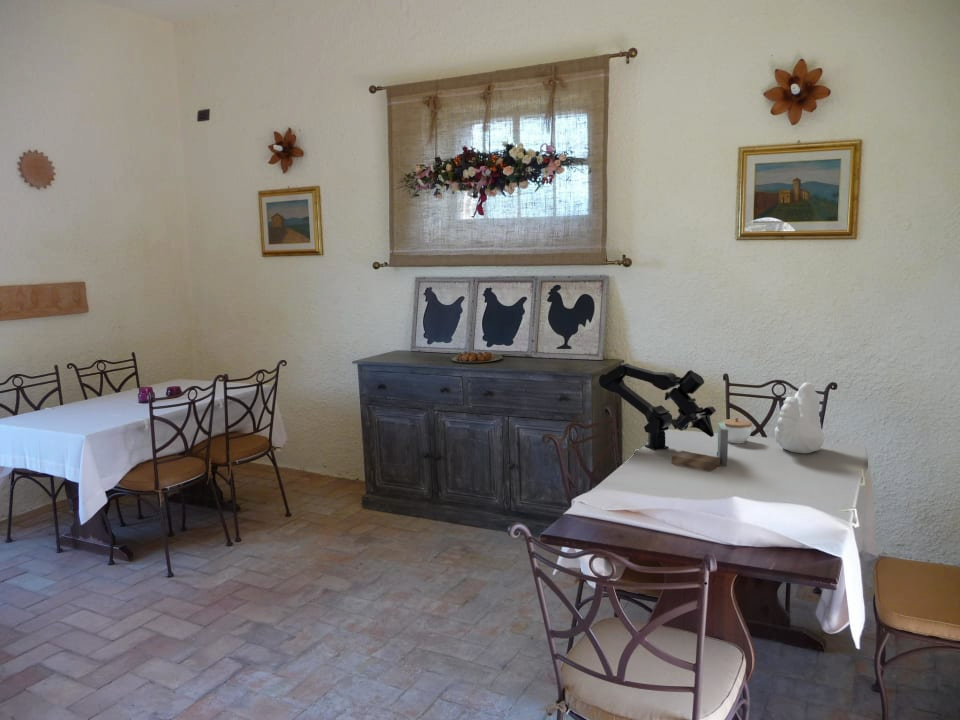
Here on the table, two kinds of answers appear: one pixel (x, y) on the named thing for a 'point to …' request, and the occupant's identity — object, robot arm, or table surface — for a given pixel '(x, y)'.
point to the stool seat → (695, 460)
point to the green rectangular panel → (722, 443)
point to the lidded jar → (738, 430)
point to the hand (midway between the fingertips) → (712, 436)
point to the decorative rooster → (800, 422)
